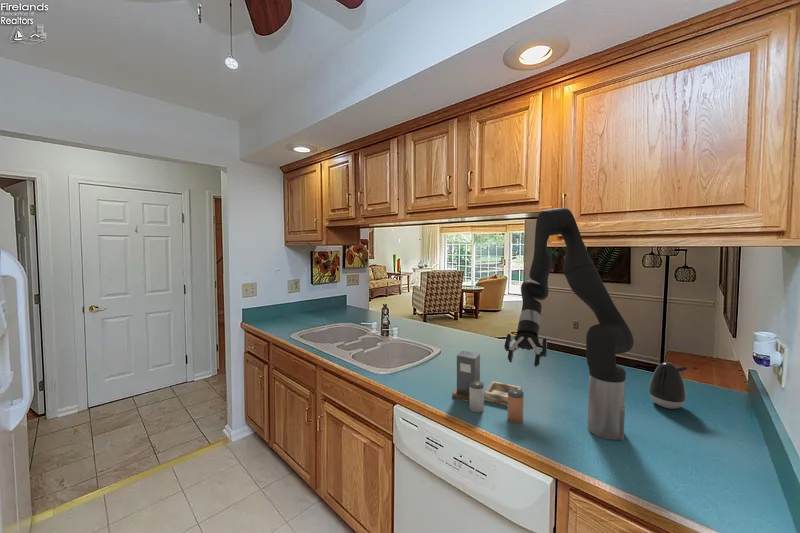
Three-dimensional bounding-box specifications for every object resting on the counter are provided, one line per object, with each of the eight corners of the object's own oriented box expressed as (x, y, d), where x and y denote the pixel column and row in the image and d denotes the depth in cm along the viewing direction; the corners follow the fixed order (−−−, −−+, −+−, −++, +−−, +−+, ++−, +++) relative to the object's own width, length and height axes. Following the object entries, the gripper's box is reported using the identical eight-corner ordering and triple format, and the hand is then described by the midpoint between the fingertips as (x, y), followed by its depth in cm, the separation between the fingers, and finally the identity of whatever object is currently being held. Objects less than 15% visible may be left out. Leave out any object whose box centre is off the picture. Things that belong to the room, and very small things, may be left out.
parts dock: (521, 394, 124) (521, 386, 124) (515, 407, 115) (515, 399, 115) (492, 388, 130) (492, 380, 130) (484, 400, 120) (484, 392, 120)
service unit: (483, 391, 127) (484, 352, 126) (475, 402, 118) (476, 360, 117) (461, 386, 132) (461, 348, 130) (452, 397, 123) (452, 356, 122)
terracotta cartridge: (524, 417, 109) (524, 390, 108) (521, 424, 104) (522, 397, 104) (509, 413, 111) (509, 387, 110) (506, 420, 107) (506, 393, 106)
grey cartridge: (485, 407, 115) (485, 382, 114) (480, 413, 111) (481, 387, 110) (472, 404, 118) (472, 379, 117) (467, 410, 114) (467, 384, 113)
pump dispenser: (692, 414, 109) (694, 370, 108) (654, 409, 112) (656, 366, 111) (678, 400, 118) (680, 359, 117) (643, 396, 122) (645, 356, 121)
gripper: (508, 317, 127) (500, 355, 118) (548, 321, 119) (543, 362, 110) (511, 327, 132) (503, 364, 123) (550, 332, 124) (545, 372, 115)
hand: (522, 363), depth 116 cm, fingers open, 8 cm apart
